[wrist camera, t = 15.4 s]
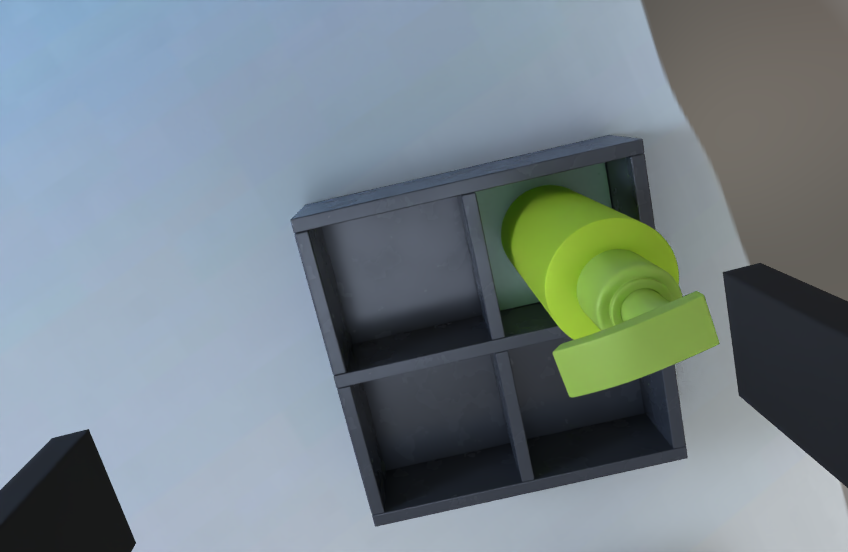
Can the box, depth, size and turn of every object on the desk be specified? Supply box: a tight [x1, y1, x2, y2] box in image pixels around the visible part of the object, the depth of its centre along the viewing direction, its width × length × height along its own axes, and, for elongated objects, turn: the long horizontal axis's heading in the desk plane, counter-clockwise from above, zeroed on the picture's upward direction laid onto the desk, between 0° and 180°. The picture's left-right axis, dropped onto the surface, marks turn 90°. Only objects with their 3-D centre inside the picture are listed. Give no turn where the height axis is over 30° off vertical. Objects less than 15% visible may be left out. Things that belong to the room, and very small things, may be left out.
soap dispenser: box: [501, 185, 720, 397], centre depth 32 cm, size 6×7×20 cm
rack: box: [291, 135, 688, 526], centre depth 41 cm, size 19×19×6 cm
